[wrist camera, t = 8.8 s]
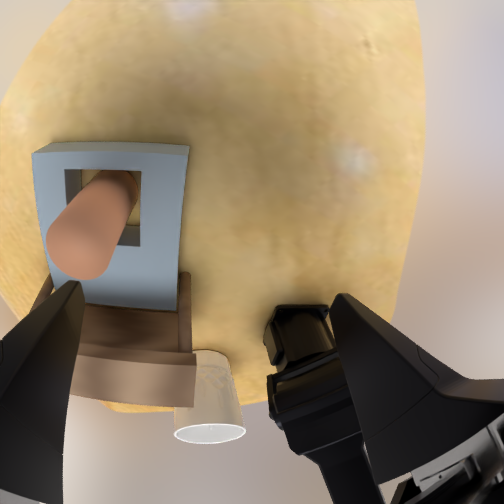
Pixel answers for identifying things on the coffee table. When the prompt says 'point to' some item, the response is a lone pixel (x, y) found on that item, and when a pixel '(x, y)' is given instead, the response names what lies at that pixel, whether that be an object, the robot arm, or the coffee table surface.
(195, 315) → the coffee table surface
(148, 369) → the brown wooden table shape
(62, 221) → the peg
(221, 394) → the white cup
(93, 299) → the socket block
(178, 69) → the coffee table surface
